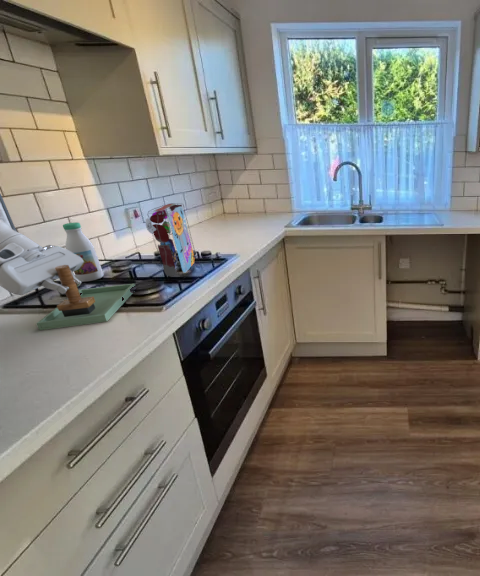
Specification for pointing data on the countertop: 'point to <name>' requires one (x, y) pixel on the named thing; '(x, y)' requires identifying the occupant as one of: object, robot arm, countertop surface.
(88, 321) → the tray
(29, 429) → the countertop surface
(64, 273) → the stamp
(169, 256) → the box
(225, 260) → the countertop surface
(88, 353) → the countertop surface
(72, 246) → the milk bottle
